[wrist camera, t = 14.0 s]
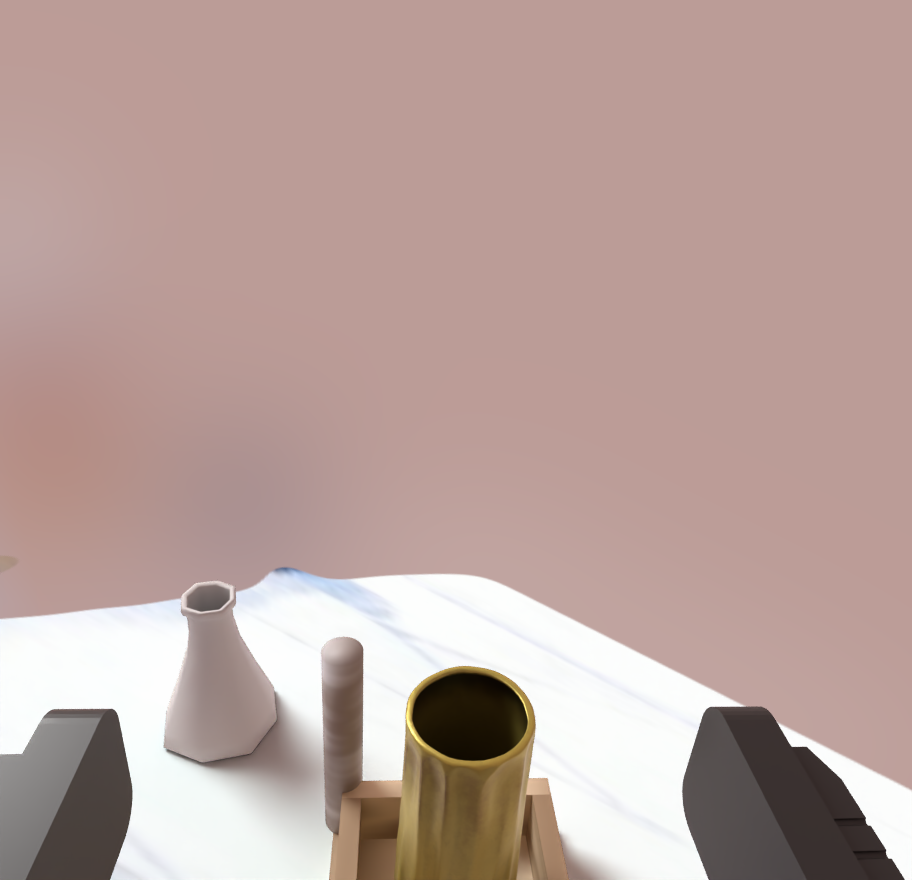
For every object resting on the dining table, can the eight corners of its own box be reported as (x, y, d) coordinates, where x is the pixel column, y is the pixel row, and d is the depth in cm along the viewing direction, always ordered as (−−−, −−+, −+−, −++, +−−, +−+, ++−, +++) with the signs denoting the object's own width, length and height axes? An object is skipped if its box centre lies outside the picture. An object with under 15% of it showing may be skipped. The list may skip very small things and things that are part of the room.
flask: (290, 682, 50) (284, 564, 46) (261, 770, 44) (251, 643, 39) (187, 674, 50) (171, 556, 46) (143, 761, 44) (119, 633, 39)
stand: (298, 1098, 29) (285, 901, 24) (327, 816, 41) (323, 636, 35) (595, 1082, 31) (651, 890, 25) (542, 811, 42) (572, 637, 36)
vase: (361, 938, 34) (361, 720, 28) (438, 843, 39) (454, 637, 32) (465, 1030, 31) (492, 808, 25) (536, 915, 36) (574, 703, 29)
